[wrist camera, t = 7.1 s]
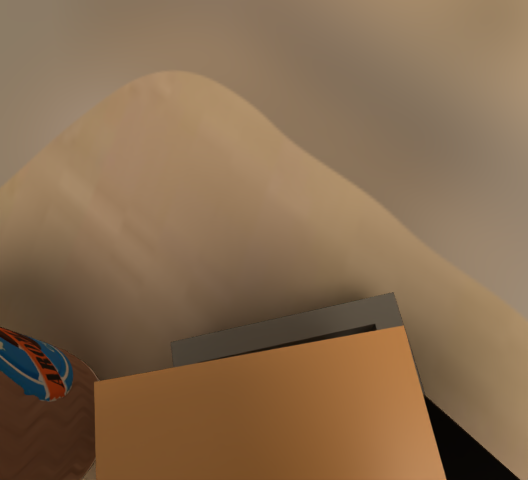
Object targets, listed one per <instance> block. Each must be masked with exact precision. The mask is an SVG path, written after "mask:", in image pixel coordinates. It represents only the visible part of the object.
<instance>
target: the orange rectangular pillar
mask: <svg viewBox="0 0 528 480" xmlns="http://www.w3.org/2000/svg"><path fill="white" fill-rule="evenodd" d="M94 403H95V452H96V480H446V476H445V473H444V469H443V465H442V462H441V458H440V455H439V451H438V447H437V444H436V440H435V437H434V433H433V429H432V426H431V422H430V418H429V415H428V411H427V408H426V404H425V400H424V397H423V393H422V390H421V386H420V382H419V379H418V375H417V372H416V368H415V364H414V361H413V357H412V354H411V350H410V346H409V343H408V339H407V335H406V332H405V328H404V325H403V326H398V327H392V328H387V329H381V330H376V331H371V332H365V333H360V334H354V335H349V336H343V337H338V338H332V339H327V340H321V341H316V342H310V343H305V344H299V345H294V346H288V347H283V348H277V349H272V350H267V351H261V352H256V353H250V354H245V355H239V356H234V357H228V358H223V359H217V360H212V361H206V362H201V363H195V364H190V365H184V366H179V367H174V368H168V369H163V370H157V371H152V372H146V373H141V374H135V375H130V376H124V377H119V378H113V379H108V380H102V381H97V382H94Z"/></svg>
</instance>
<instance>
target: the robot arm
mask: <svg viewBox="0 0 528 480" xmlns="http://www.w3.org/2000/svg"><path fill="white" fill-rule="evenodd" d="M423 397H424V400H425V404H426V408H427V411H428V415H429V418H430V422H431V426H432V429H433V433H434V437H435V440H436V444H437V447H438V451H439V455H440V458H441V462H442V465H443V469H444V473H445V476H446V480H520V479H519V478H518V477H517V476H515V475H514V474H513V473H512V472H511V471H510V470H509V469H508V468H506V467H505V466H504V465H503V464H502V463H501V462H500V461H499V460H497V459H496V458H495V457H494V456H493V455H492V454H491V453H490V452H488V451H487V450H486V449H485V448H484V447H483V446H482V445H481V444H479V443H478V442H477V441H476V440H475V439H474V438H473V437H472V436H470V435H469V434H468V433H467V432H466V431H465V430H464V429H462V428H461V427H460V426H459V425H458V424H457V423H456V422H455V421H453V420H452V419H451V418H450V417H449V416H448V415H447V414H446V413H444V412H443V411H442V410H441V409H440V408H439V407H438V406H437V405H435V404H434V403H433V402H432V401H431V400H430V399H429V398H428V397H426V396H425V395H424V394H423Z"/></svg>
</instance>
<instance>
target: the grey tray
mask: <svg viewBox="0 0 528 480" xmlns="http://www.w3.org/2000/svg"><path fill="white" fill-rule="evenodd" d="M403 325H404V324H403V321H402V318H401V315H400V312H399V308H398V305H397V302H396V299H395V296H394V292H392V293H388V294H384V295H379V296H375V297H370V298H366V299H361V300H357V301H352V302H348V303H343V304H339V305H334V306H330V307H325V308H321V309H317V310H312V311H308V312H303V313H299V314H294V315H290V316H285V317H281V318H276V319H272V320H267V321H263V322H258V323H254V324H250V325H245V326H241V327H236V328H232V329H227V330H223V331H218V332H214V333H209V334H205V335H200V336H196V337H191V338H187V339H182V340H178V341H174V342H171V349H172V358H173V366H174V367H179V366H184V365H190V364H195V363H201V362H206V361H212V360H217V359H223V358H228V357H234V356H239V355H245V354H250V353H256V352H261V351H267V350H272V349H277V348H283V347H288V346H294V345H299V344H305V343H310V342H316V341H321V340H327V339H332V338H338V337H343V336H349V335H354V334H360V333H365V332H371V331H376V330H381V329H387V328H392V327H398V326H403ZM405 332H406V331H405ZM406 335H407V334H406ZM407 339H408V337H407ZM408 343H409V340H408ZM409 346H410V344H409ZM410 350H411V347H410ZM411 354H412V357H413V361H414V364H415V368H416V372H417V375H418V379H419V382H420V386H421V390H422V393H423V394H424V395H425V392H424V389H423V385H422V382H421V379H420V376H419V373H418V369H417V366H416V363H415V360H414V356H413V353H412V350H411ZM425 396H426V395H425Z"/></svg>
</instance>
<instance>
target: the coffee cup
mask: <svg viewBox="0 0 528 480" xmlns="http://www.w3.org/2000/svg"><path fill="white" fill-rule="evenodd" d="M97 381H100V380H99V379H98V378H97V376H96V375H95V373H94V372H93V370H92V369H91V368H90V367H89V366H88V365H87V364H86V363H84V362H83V361H81V360H80V359H78V358H76V357H75V356H74V355H71V354H69V353H68V352H67V351H66V350H63V349H60V348H58V347H55V346H52V345H50V344H48V343H45V342H42V341H39V340H36V339H34V338H31V337H28V336H25V335H22V334H19V333H16V332H13V331H11V330H8V329H5V328H2V327H0V480H81V479H82V478H83V477H84V475H85V474H86V473H87V471H88V470H89V469H90V468H91V466H92V465H93V463H94V461H95V459H96V452H95V403H94V382H97Z"/></svg>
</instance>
